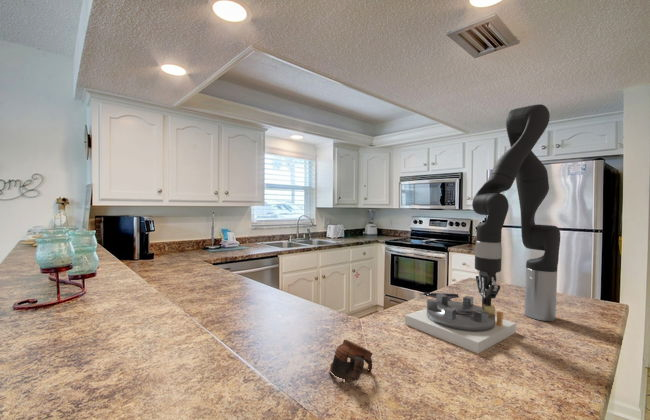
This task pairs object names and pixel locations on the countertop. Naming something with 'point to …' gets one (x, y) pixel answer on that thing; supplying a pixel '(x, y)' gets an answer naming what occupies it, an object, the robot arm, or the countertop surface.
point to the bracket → (442, 293)
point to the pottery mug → (356, 360)
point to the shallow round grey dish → (461, 314)
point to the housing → (465, 339)
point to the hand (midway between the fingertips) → (486, 309)
